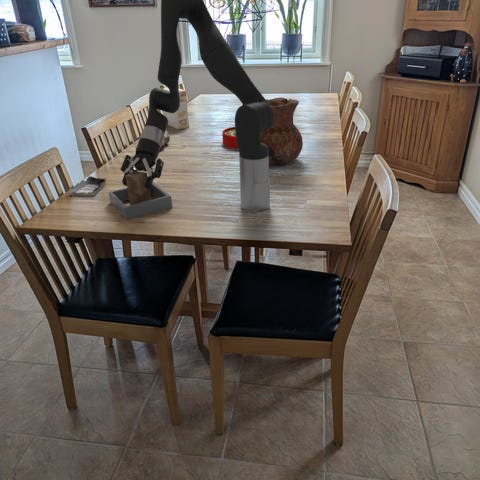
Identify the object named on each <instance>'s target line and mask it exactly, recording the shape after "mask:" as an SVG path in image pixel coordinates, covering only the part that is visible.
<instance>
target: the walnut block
mask: <svg viewBox="0 0 480 480" xmlns="http://www.w3.org/2000/svg"><path fill="white" fill-rule="evenodd" d="M147 176H148V172H145V171H139V170H138V171H133V172H132V173H130V174H128V175H126V183H127V186H126V188H127V189H128V195H129V199H128V200H129V205H133V204H137V203H141V202H145V201H149V200H152V199H151V194H150V191H149V189H146V188H145V187H144V185H145V182H146V179H147Z"/></svg>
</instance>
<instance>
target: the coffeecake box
mask: <svg viewBox="0 0 480 480" xmlns="http://www.w3.org/2000/svg"><path fill="white" fill-rule="evenodd" d="M162 89H164V90H168V91H169V88H168V87H166V88H165V87H164V88H162ZM179 97H180V106H179V109H178V110H177V111H176V112H175V113H168V112H165V111H164V116H166V117H167V119H168V125H167V126H169V127H172V128H173V129H177V130H181V129H183V130H184V129H188V127H189V128H190V123H189V112H188V111H189V110H188V98H187V90H186V89H181V88H179Z"/></svg>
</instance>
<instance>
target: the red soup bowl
mask: <svg viewBox="0 0 480 480" xmlns="http://www.w3.org/2000/svg"><path fill="white" fill-rule="evenodd" d="M221 136H222V145H223V146H224V147H225V146H226V147H225V148H228V147H229V148H228V149H233V148H234V149H233V150H238V147H237V144H236V132H235V126H231V127H227V128H225V129H223V130H222V132H221Z"/></svg>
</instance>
